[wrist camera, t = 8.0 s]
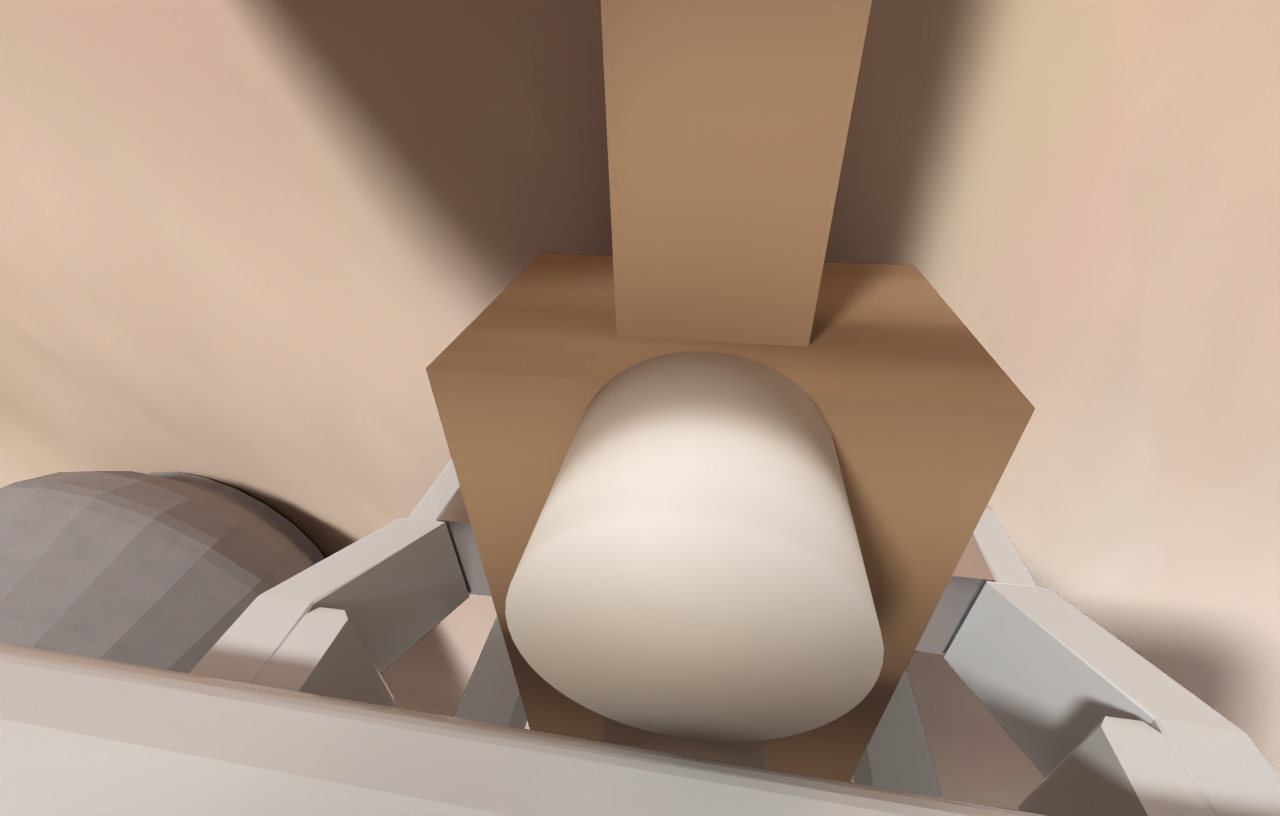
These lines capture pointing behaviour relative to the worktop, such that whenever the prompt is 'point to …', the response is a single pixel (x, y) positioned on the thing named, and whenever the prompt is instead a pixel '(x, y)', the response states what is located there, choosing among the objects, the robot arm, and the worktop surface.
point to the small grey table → (885, 763)
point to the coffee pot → (137, 564)
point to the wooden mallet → (722, 416)
